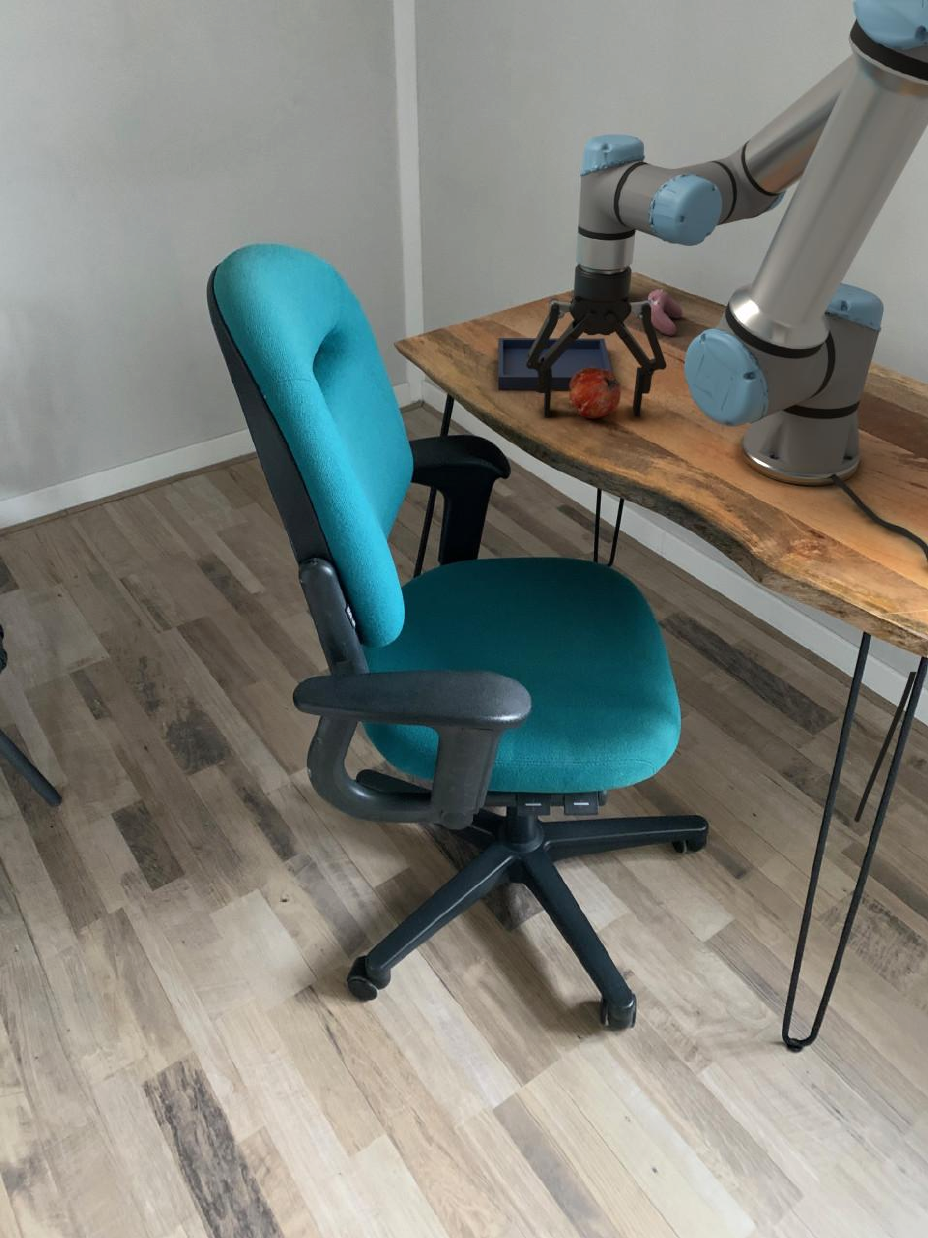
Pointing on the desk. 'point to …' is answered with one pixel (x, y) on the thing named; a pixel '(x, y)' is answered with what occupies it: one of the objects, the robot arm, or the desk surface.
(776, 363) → the robot arm
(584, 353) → the tray
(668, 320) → the video game controller
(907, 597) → the desk surface
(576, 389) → the pomegranate
